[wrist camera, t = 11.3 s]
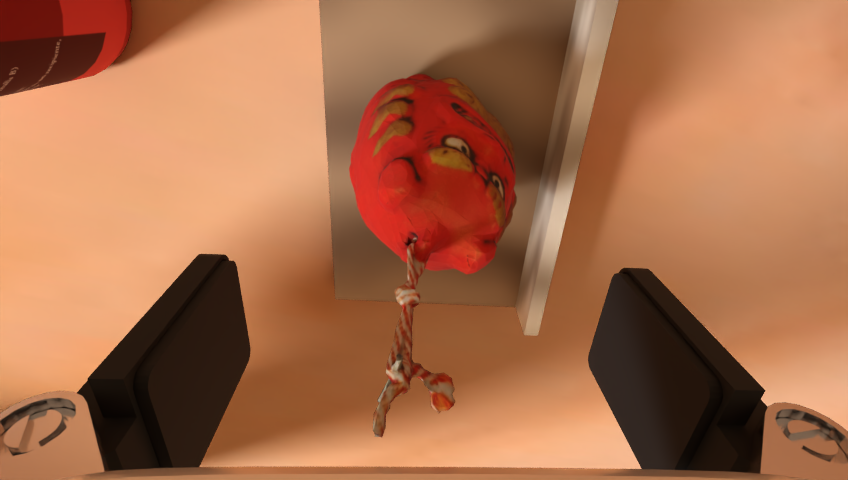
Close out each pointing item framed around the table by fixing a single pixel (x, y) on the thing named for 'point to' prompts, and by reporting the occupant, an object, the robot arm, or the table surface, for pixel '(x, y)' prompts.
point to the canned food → (59, 40)
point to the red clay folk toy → (430, 199)
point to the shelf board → (500, 95)
